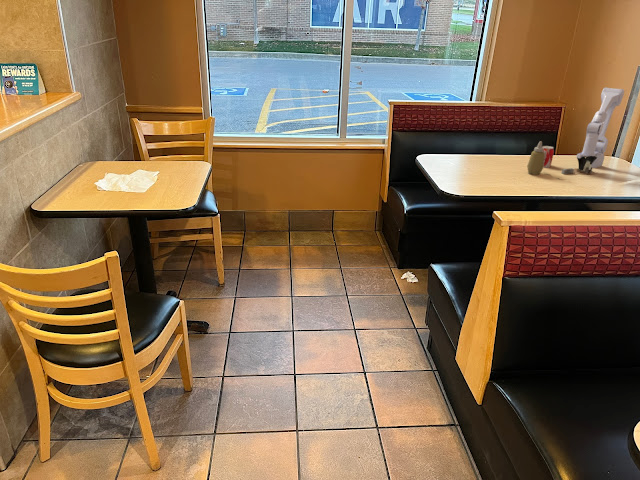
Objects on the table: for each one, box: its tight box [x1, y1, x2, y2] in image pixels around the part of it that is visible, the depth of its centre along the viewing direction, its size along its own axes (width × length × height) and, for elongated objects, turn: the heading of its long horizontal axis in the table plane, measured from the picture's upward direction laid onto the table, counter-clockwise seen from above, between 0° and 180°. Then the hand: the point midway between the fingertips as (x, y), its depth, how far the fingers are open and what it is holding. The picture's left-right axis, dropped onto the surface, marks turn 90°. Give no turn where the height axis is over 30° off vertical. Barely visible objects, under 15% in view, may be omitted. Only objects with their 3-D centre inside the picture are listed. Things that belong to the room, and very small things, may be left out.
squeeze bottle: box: [526, 140, 545, 176], centre depth 255 cm, size 8×8×18 cm
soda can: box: [542, 145, 555, 168], centre depth 267 cm, size 7×7×12 cm
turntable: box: [561, 167, 596, 176], centre depth 258 cm, size 20×12×4 cm, turn 107°
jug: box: [579, 161, 592, 172], centre depth 257 cm, size 6×4×6 cm
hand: (583, 169), depth 259 cm, fingers closed on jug, 4 cm apart
